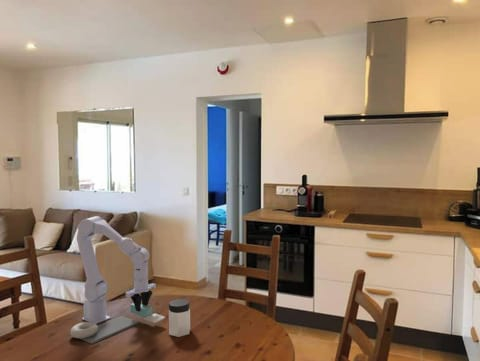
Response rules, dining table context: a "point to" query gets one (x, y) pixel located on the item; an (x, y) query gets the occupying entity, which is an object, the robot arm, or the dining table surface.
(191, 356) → the dining table surface
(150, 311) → the turner
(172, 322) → the jar
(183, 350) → the dining table surface
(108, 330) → the slate board
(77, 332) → the donut
